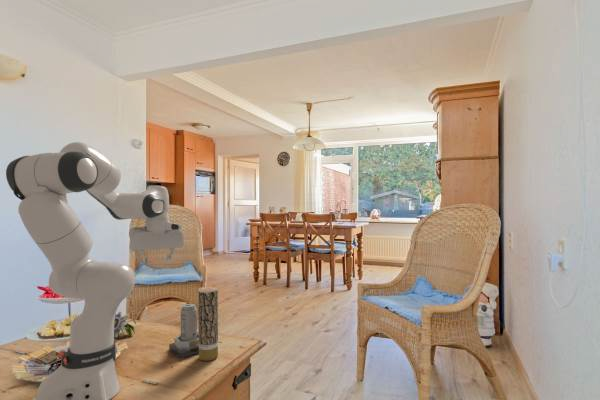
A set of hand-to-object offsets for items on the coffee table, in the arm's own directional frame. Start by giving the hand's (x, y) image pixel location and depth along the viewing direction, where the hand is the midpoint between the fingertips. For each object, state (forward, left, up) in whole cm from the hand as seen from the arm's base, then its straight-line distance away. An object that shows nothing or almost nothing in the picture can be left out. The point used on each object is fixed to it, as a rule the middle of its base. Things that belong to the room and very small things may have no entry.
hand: (157, 260), depth 136 cm
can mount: (+7, -13, -34) cm, 37 cm away
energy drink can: (+8, -13, -32) cm, 35 cm away
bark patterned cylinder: (+10, -24, -34) cm, 43 cm away
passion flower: (-9, +21, -34) cm, 41 cm away
